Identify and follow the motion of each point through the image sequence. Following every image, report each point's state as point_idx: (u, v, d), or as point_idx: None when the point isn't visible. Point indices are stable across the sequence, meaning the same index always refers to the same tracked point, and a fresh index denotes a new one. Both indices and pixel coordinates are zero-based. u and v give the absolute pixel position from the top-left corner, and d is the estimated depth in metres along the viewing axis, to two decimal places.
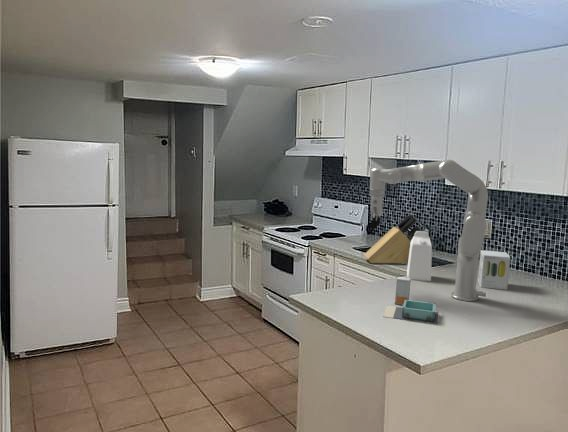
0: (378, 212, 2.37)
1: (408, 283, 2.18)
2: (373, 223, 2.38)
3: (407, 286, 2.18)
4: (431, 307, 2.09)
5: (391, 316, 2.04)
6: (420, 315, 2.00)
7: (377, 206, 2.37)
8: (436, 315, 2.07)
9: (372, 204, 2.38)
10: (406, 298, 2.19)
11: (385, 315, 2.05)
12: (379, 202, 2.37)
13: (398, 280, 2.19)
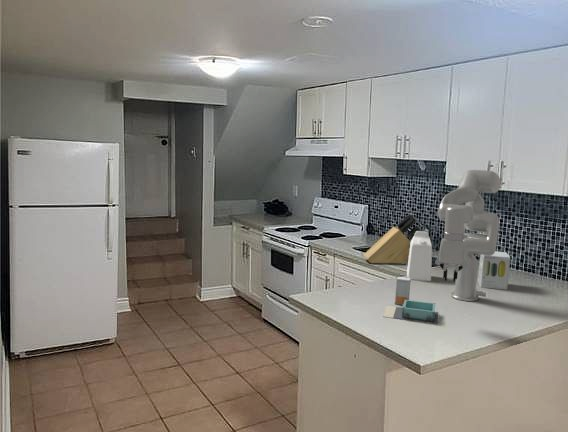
0: None
1: (408, 283, 2.18)
2: (457, 275, 1.99)
3: (407, 286, 2.18)
4: (431, 307, 2.09)
5: (391, 316, 2.04)
6: (420, 315, 2.00)
7: None
8: (436, 315, 2.07)
9: (464, 251, 1.96)
10: (406, 298, 2.19)
11: (385, 315, 2.05)
12: None
13: (398, 280, 2.19)
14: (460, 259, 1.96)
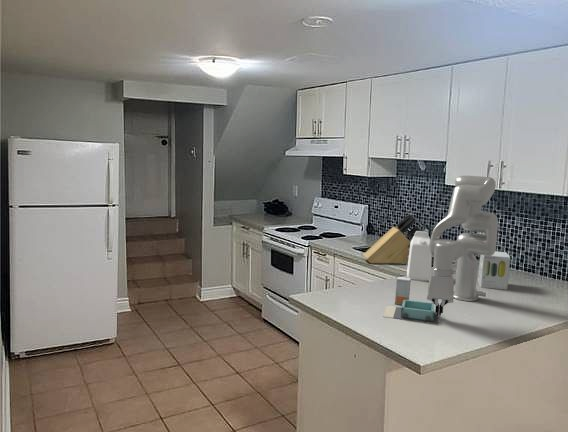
0: None
1: (408, 283, 2.18)
2: (442, 309, 2.03)
3: (407, 286, 2.18)
4: (430, 307, 2.09)
5: (391, 316, 2.04)
6: (419, 315, 2.00)
7: None
8: (436, 315, 2.07)
9: (453, 286, 1.99)
10: (406, 298, 2.19)
11: (385, 315, 2.05)
12: None
13: (398, 280, 2.19)
14: (449, 294, 1.99)
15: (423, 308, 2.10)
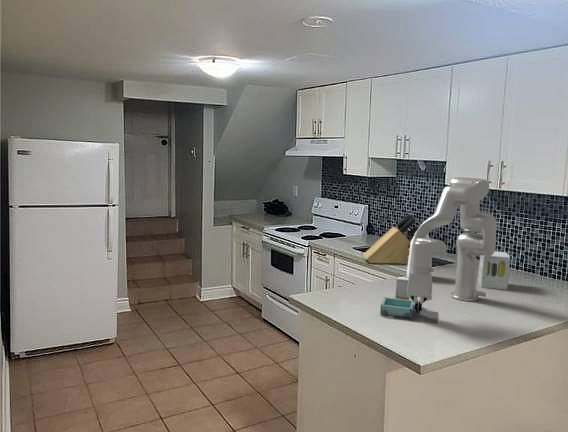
0: None
1: None
2: (421, 306, 2.05)
3: None
4: (410, 304, 2.12)
5: (391, 316, 2.04)
6: (398, 312, 2.03)
7: None
8: (436, 315, 2.07)
9: (431, 284, 2.02)
10: (406, 298, 2.19)
11: None
12: None
13: (398, 280, 2.19)
14: (427, 292, 2.02)
15: (403, 305, 2.13)
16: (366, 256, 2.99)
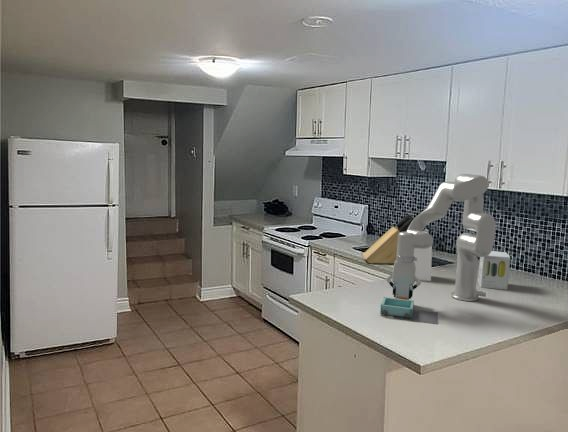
0: None
1: (408, 283, 2.18)
2: (412, 293, 2.20)
3: (407, 286, 2.18)
4: (410, 304, 2.12)
5: (391, 316, 2.04)
6: (398, 312, 2.03)
7: (415, 272, 2.20)
8: (436, 315, 2.07)
9: (414, 272, 2.17)
10: (406, 298, 2.19)
11: None
12: None
13: None
14: (410, 279, 2.17)
15: (403, 305, 2.13)
16: (365, 256, 2.99)
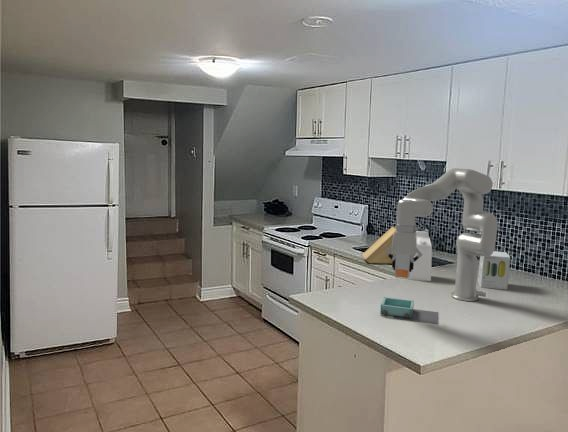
0: None
1: (408, 255, 2.02)
2: (413, 265, 2.04)
3: (407, 258, 2.03)
4: (410, 304, 2.12)
5: (391, 316, 2.04)
6: (398, 312, 2.03)
7: (416, 243, 2.04)
8: (436, 315, 2.07)
9: (415, 242, 2.02)
10: (406, 271, 2.04)
11: None
12: None
13: None
14: (411, 250, 2.02)
15: (403, 305, 2.13)
16: (365, 256, 2.99)
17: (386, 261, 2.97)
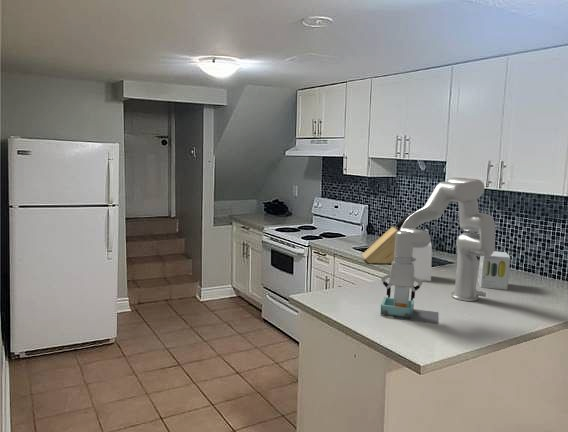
0: None
1: (407, 289, 2.05)
2: (414, 294, 2.06)
3: (406, 292, 2.05)
4: (410, 304, 2.12)
5: (391, 316, 2.04)
6: (398, 312, 2.03)
7: None
8: (436, 315, 2.07)
9: (413, 273, 2.04)
10: (405, 304, 2.06)
11: None
12: None
13: (396, 285, 2.06)
14: (409, 281, 2.04)
15: None
16: (365, 256, 2.99)
17: (386, 261, 2.97)
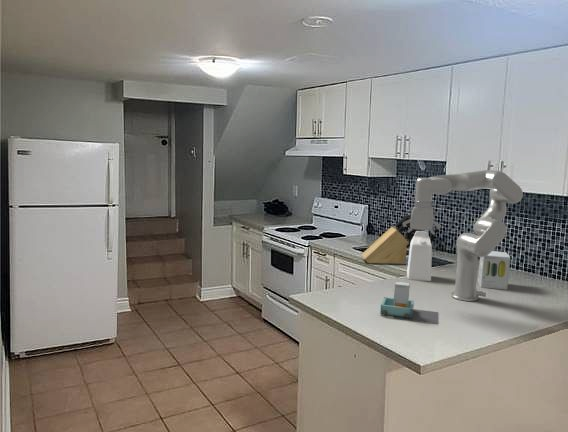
0: None
1: (407, 289, 2.05)
2: None
3: (406, 292, 2.05)
4: (410, 304, 2.12)
5: (391, 316, 2.04)
6: (398, 312, 2.03)
7: (433, 218, 2.21)
8: (436, 315, 2.07)
9: (433, 217, 2.18)
10: (405, 304, 2.06)
11: None
12: None
13: (396, 285, 2.06)
14: (429, 225, 2.19)
15: None
16: (364, 256, 2.99)
17: (385, 261, 2.96)
